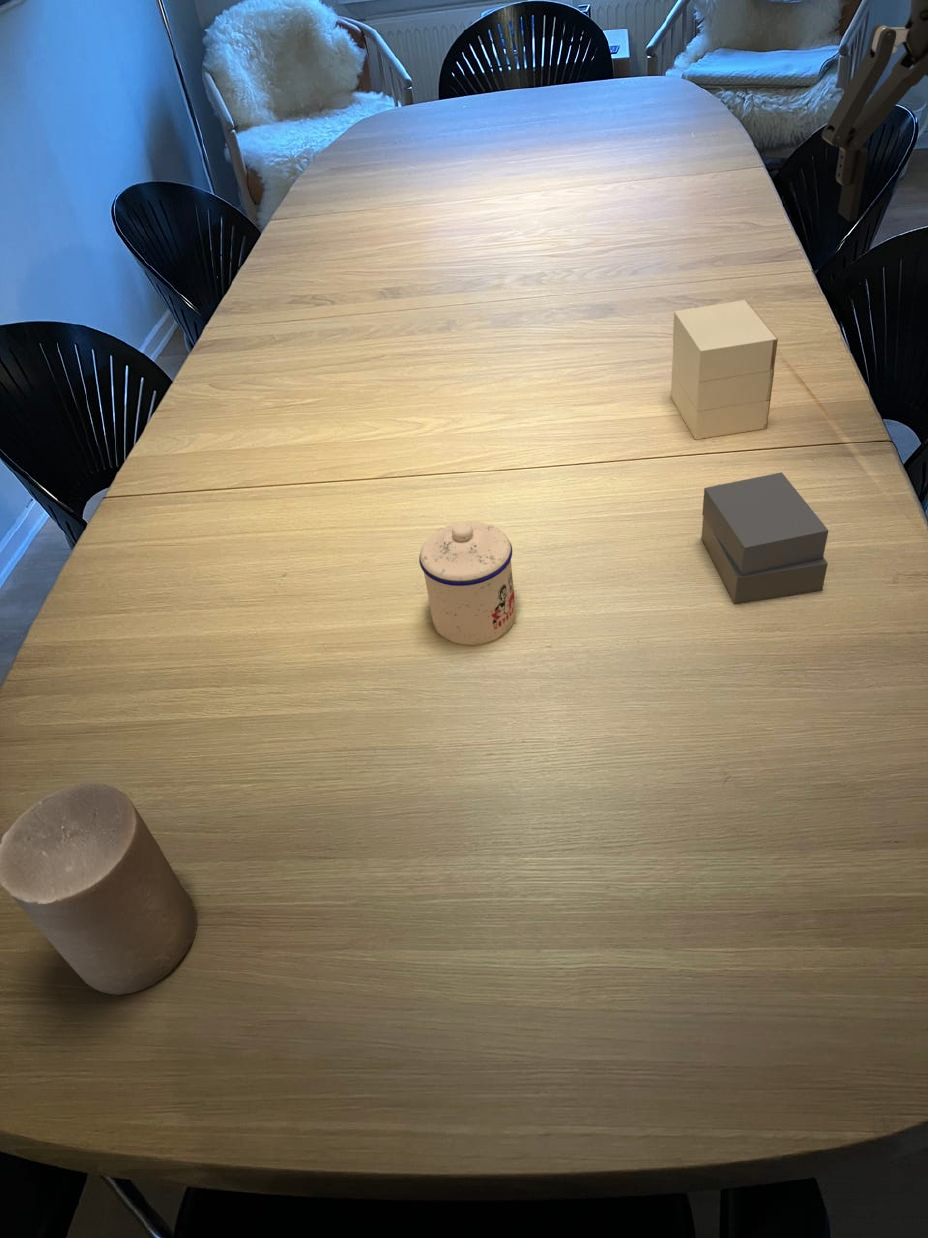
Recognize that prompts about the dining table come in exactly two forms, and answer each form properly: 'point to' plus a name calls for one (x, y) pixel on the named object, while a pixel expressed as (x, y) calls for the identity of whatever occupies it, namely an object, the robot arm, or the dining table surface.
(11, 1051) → the dining table surface
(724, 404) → the cream books
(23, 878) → the pillar candle
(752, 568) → the grey books
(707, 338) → the cream book
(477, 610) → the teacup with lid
